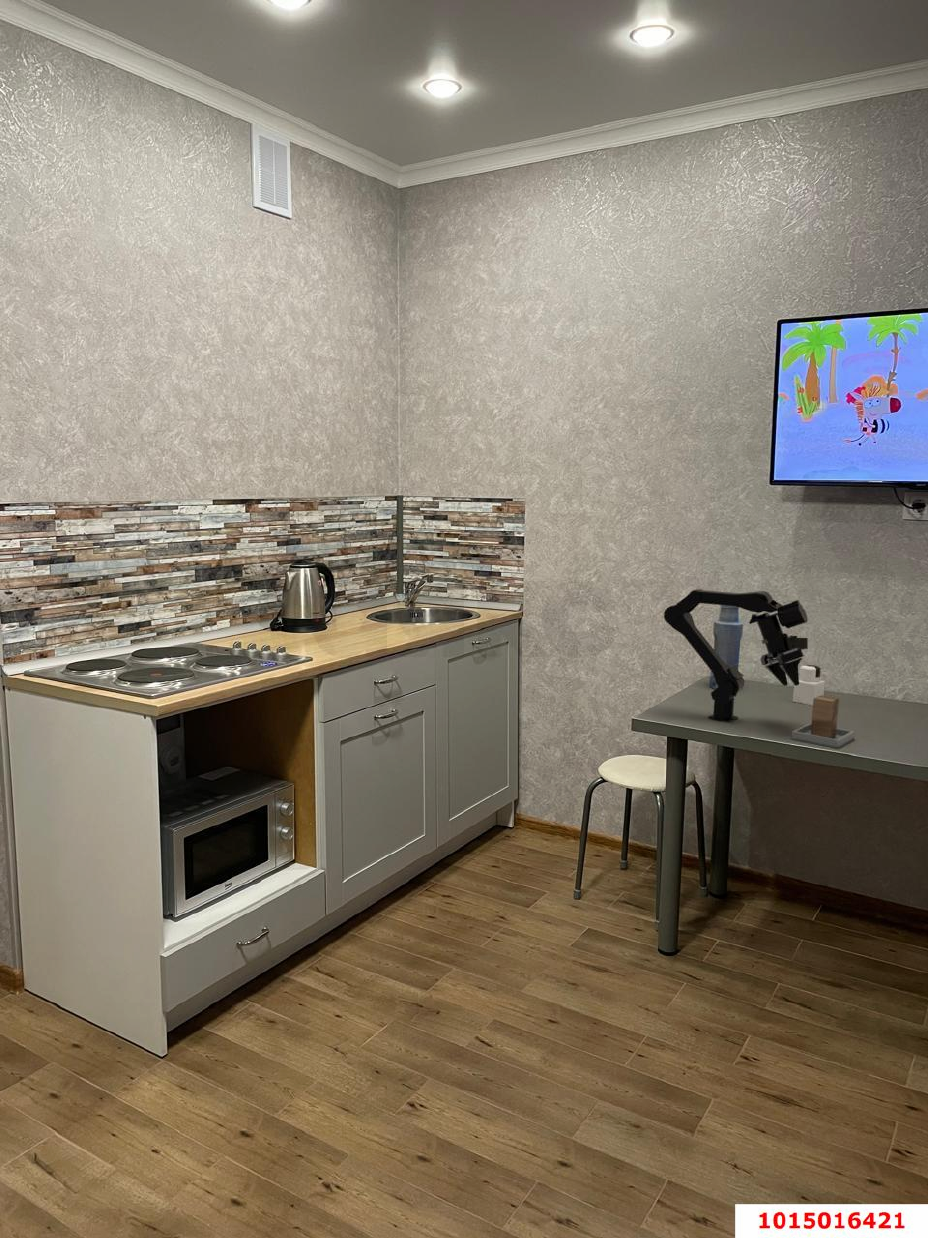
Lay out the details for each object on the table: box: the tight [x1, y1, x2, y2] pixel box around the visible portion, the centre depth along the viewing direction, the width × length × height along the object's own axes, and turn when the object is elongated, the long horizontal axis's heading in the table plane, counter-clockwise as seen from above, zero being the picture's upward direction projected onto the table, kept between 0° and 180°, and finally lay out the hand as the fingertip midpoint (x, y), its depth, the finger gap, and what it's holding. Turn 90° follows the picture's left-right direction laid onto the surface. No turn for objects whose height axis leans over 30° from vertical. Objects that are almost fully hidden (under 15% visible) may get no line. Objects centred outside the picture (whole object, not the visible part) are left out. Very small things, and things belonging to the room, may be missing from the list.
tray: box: [791, 722, 856, 750], centre depth 255 cm, size 13×13×2 cm
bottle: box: [708, 605, 744, 690], centre depth 316 cm, size 10×10×30 cm
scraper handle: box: [811, 695, 840, 739], centre depth 254 cm, size 5×5×11 cm
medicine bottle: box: [792, 664, 826, 707], centre depth 298 cm, size 7×7×12 cm
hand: (791, 685), depth 264 cm, fingers open, 9 cm apart
